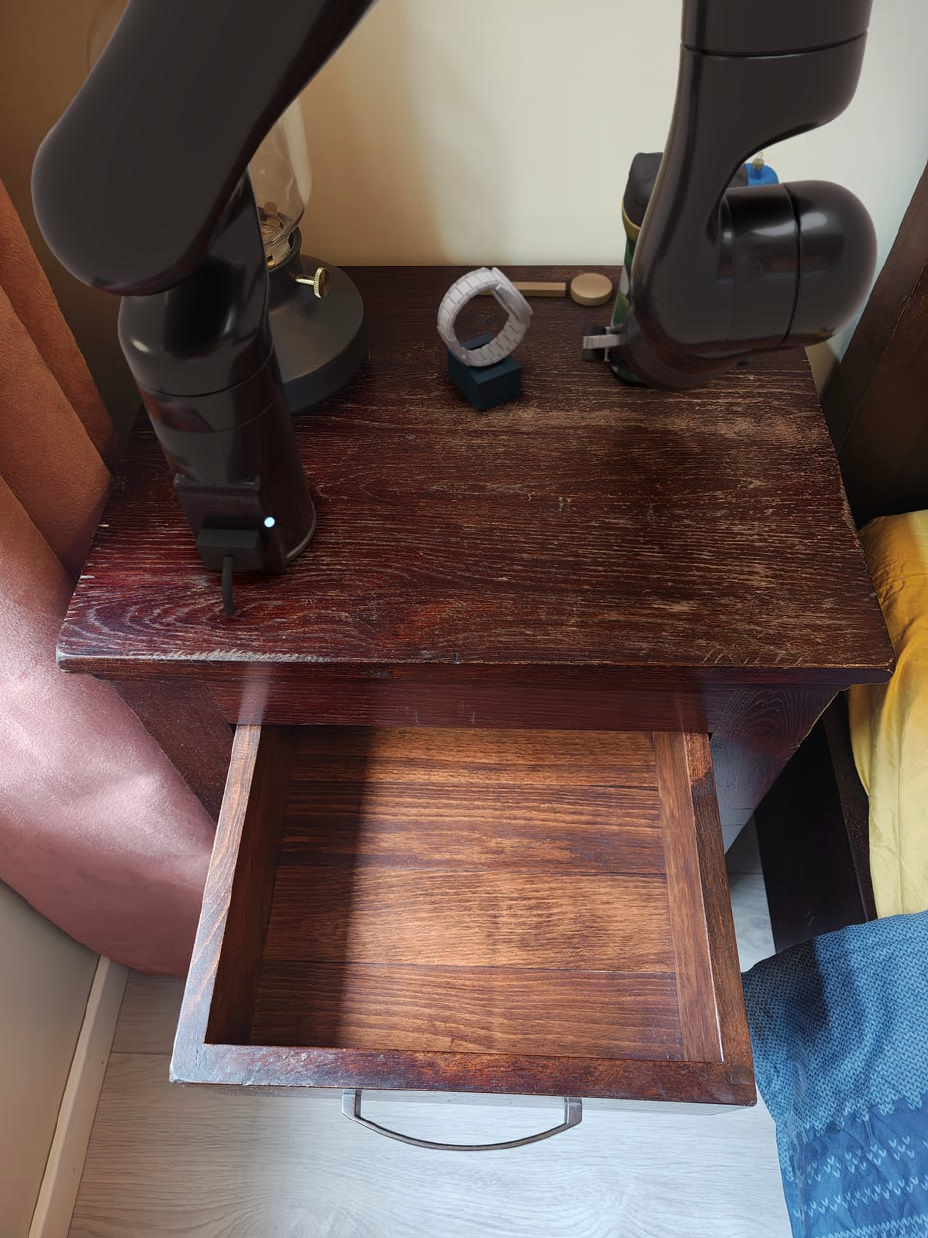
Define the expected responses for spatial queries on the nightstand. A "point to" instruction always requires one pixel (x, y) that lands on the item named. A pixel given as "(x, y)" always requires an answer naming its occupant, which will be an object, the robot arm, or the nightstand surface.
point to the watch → (485, 341)
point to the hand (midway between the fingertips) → (651, 359)
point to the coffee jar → (633, 216)
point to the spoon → (583, 289)
